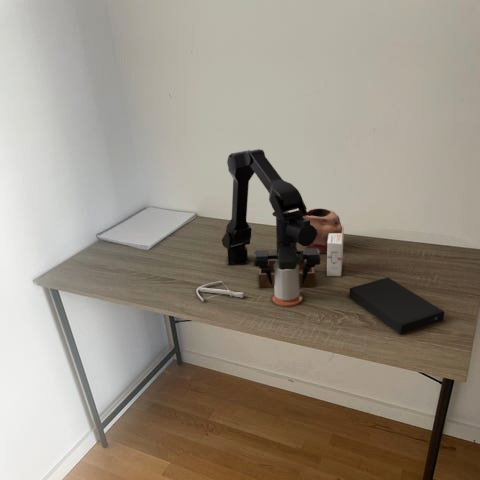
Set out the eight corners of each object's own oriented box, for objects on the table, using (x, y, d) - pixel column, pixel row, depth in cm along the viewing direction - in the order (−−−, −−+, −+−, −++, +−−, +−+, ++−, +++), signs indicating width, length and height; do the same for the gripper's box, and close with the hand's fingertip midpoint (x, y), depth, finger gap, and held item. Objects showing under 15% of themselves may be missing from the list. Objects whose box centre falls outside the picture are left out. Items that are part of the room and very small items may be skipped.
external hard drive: (387, 285, 144) (388, 277, 142) (443, 320, 126) (444, 311, 124) (348, 297, 140) (349, 288, 138) (400, 335, 121) (401, 325, 120)
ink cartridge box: (327, 264, 159) (328, 223, 151) (341, 265, 158) (344, 224, 150) (325, 276, 152) (327, 233, 144) (341, 276, 151) (343, 234, 143)
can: (302, 292, 142) (302, 256, 136) (294, 304, 137) (294, 267, 130) (279, 289, 145) (278, 253, 139) (270, 300, 140) (269, 263, 133)
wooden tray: (259, 288, 148) (258, 274, 145) (260, 270, 158) (259, 257, 156) (314, 286, 147) (314, 272, 144) (311, 269, 157) (311, 256, 154)
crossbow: (188, 301, 145) (187, 296, 144) (207, 283, 154) (206, 278, 153) (234, 307, 138) (233, 301, 137) (251, 288, 148) (250, 282, 147)
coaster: (272, 306, 138) (272, 305, 137) (272, 292, 145) (272, 290, 145) (303, 306, 137) (303, 304, 137) (301, 291, 145) (301, 289, 144)
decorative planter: (284, 250, 172) (284, 213, 164) (298, 238, 180) (298, 203, 173) (336, 258, 163) (338, 220, 155) (348, 245, 171) (350, 209, 164)
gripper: (252, 247, 124) (254, 297, 132) (322, 244, 122) (321, 296, 131) (253, 231, 133) (256, 279, 142) (319, 229, 132) (317, 278, 140)
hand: (287, 283), depth 138 cm, fingers open, 9 cm apart
